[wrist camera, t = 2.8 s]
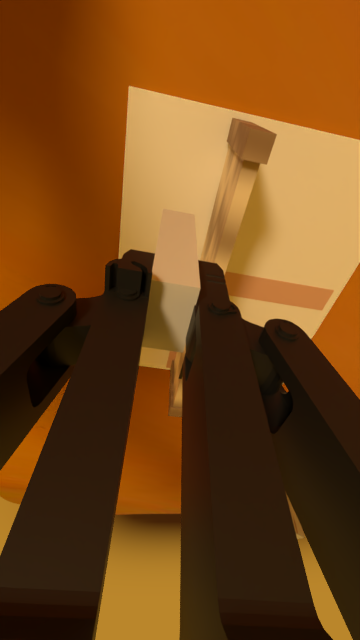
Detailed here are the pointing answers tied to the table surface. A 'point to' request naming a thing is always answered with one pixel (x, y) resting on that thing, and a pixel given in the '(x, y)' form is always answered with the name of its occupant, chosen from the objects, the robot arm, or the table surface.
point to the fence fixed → (176, 385)
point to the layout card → (262, 208)
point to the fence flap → (235, 187)
